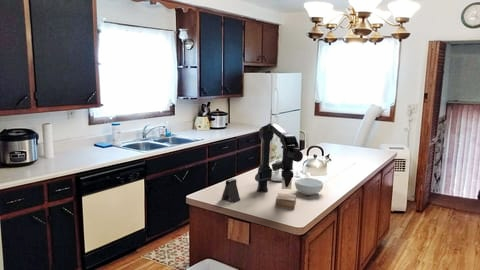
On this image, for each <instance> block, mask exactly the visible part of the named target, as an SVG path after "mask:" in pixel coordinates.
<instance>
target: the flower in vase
mask: <svg viewBox="0 0 480 270" xmlns="http://www.w3.org/2000/svg"><path fill="white" fill-rule="evenodd" d="M277 149H278V145H277V144H275V143H274V144H272V145H270V154H273V153H274V154H276V153H275V152H276V151H277ZM281 157H282V155H281V154H279V155H277V156H276V155H273V156H270V157H269V160H270V159H271V160H274V161H273V162H274V163H277V162H281V161H282V159H280V158H281ZM281 173H282V171H280V169H279V170H276V171H273V172H272V177H271V181H274V182H282V177H281Z"/></svg>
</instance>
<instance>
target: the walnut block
mask: <svg viewBox="0 0 480 270" xmlns="http://www.w3.org/2000/svg"><path fill="white" fill-rule="evenodd" d="M296 203H297V195H296V194H292V193H291V194H289V193H282V192H280V193H279V192H278V193H277V196H276V198H275V208H280V209H290V210H295V207H296Z"/></svg>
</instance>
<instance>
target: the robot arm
mask: <svg viewBox="0 0 480 270" xmlns="http://www.w3.org/2000/svg"><path fill="white" fill-rule="evenodd" d="M258 134H259V139H260V140H261V156H260V157H261V158H260V165H259V167H258V169H257V172H256V174H255V176H254V180H255V181H256V182H257V189H256V192H262V193H263V192H264V193H268V192H269V188H268V182H270V181H272V180H271V177H272V173H273V172H275V171H276V170H279V171H280V170H281V177H283V178H284V180H285V187H288V185H289V183H290V181H291V179H293V178H294V168H293V167H294V162H297V163H299V162H301V161H302V160H303V159H304V158H303V157H304V155H303V152H302V151H301V149H300V145H299V142H298V140H297V136H296V135H295V134H292V132H287V131H286V130H285V129H283V128H282V127H281V126H279V124H278V123H276V122H269V123H268V124H266V125H264V126H262V127H260V128H259V129H258ZM274 135H275V136H277V137H278V138H279V142H280V144H281V145H282V146H281V147H280V148H281V149H282V158H281V160H282V161H281V162H277V163H275V162H274V163H272V164H271V166H270V158H271V155H270V154H271V153H270V147H271V141H273V139H274Z"/></svg>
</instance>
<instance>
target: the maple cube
mask: <svg viewBox="0 0 480 270" xmlns="http://www.w3.org/2000/svg"><path fill="white" fill-rule="evenodd" d="M292 179H293V178H292ZM292 179H291V181H290V183H289V185H288V187H285V180H284V178H283V177H282V181H281V190H292V182H293V181H292Z"/></svg>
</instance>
